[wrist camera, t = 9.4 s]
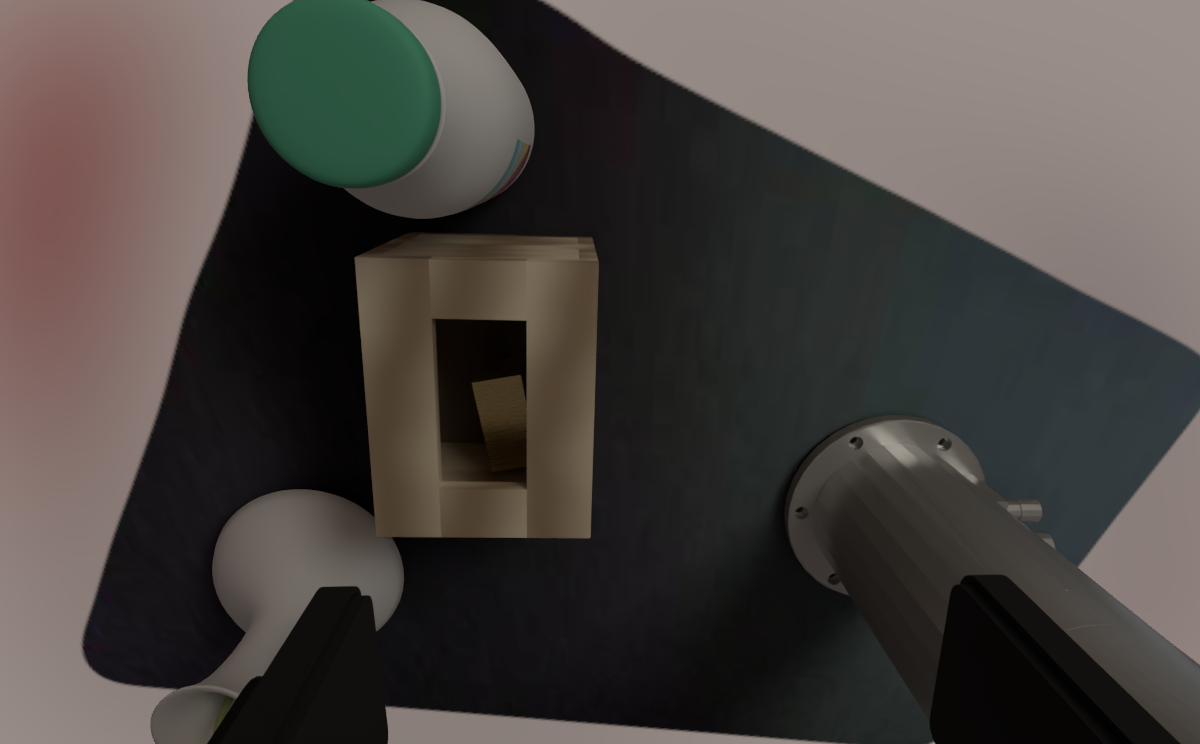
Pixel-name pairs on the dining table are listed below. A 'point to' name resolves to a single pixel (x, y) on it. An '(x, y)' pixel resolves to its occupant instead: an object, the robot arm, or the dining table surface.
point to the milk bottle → (391, 103)
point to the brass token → (503, 407)
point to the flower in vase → (279, 592)
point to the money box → (447, 368)
